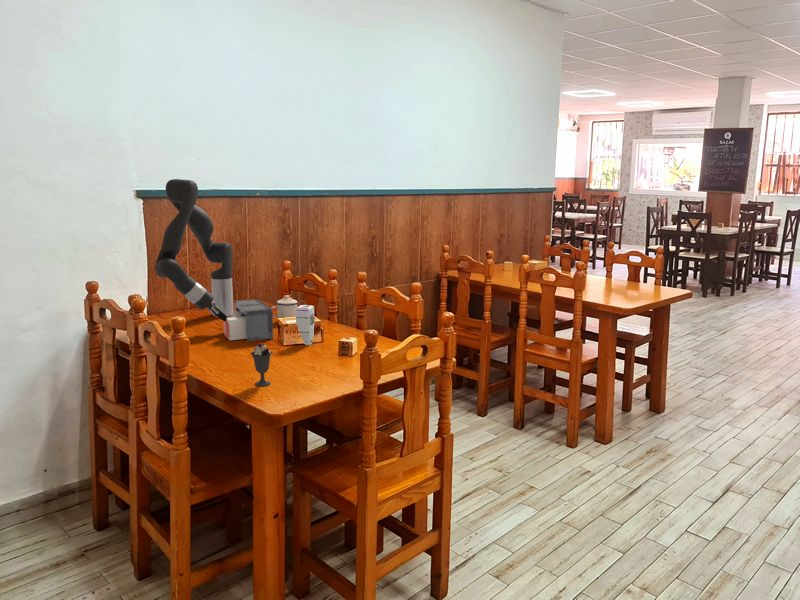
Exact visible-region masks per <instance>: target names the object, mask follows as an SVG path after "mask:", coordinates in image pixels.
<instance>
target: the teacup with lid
mask: <svg viewBox="0 0 800 600" xmlns="http://www.w3.org/2000/svg"><path fill="white" fill-rule="evenodd" d="M298 303H299V302H298V301H297V300H296V299H294V298H292V297H290V295H284V297H282V299H279V300H277V301H276V305H274V306H272V307H270V308H271V309H272V310H273V309H276V310H277V315H276V314H273V318H277V319H278V318H285V317H295V316H296V313H295V308H297V307H298Z"/></svg>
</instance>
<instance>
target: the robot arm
mask: <svg viewBox="0 0 800 600" xmlns="http://www.w3.org/2000/svg"><path fill="white" fill-rule="evenodd" d="M165 193H166V196H167V199H168V200H169V202H170V203H171V204H172V205H173V206H174V208H175V209H176V210H177V211H178V213H177V214H176V216H175V217H174V218H173V219H172V220H171V221H170V223H169V224H168V225H167V227H166V228H165V230H164V233H163V238H162V243H161V247H160V251H159V253H158V255H157V258H156V260H155V264H154V273H155V274H156V275H157V276H158V277H160V278H163V279H164V278H165V279H169V281H170V282H172V283H173V286H174V288H175V289H177V291H179V292H180V293H181V294H182V295H183V296H184V297H185V298H186V299H187V300H188V301H189V302H190V303H192V304H193V305H194V306H195V307H196V308H197V309H199V311H203V310H205V309H206V308H207V311H208V312H209V313H210V314H212V316H213V317H216V318H219V319H220V320H221V321H227V319H226V318H229V317H231V315H234V296H233V295H234V294H233V293H234V292H233V291H234V290H233V288H234V287H233V270H234V269H233V268H234V267H233V263H234V262H233V259H234V258H233V253H234V252H233V247H232V245H231V244H230V243H229V242H216V241H213V240H212V235H213V233H214V227H215V226H214V222H213V221H212V219H211V217H210V215H208V213H207V212H206V211H205V210H204V209H203V208H201V207H199V206H198V205H196V202H197V200H198V195H199V188H198V184H197V183H196V182H195V181H194V180H191V179H179V178H175V179H173V178H172V179H170V180H168V181H167V182H166V184H165ZM187 226H188V228H189V230H191V232H192V233H193V235H194V236H195V238H196V240H197V242H198V243H199V244H200V246H201V249H202V251H203V254H204V256H205V257H206V259H207V260H208V262H210V263H214V264H221V267H220V268H218V269H216V270H212V271H211V273H210V281H211V282H210V283H211V284H210V285H211V292H209V290H207V289H206V288H205V287H204V286H203V285H201V284H200V283H198V282H197V281H196V280H195V279H194V278H193V277H191V276H190V275H189V274H188V273H187V272H186V271H185V269H184V267H182V266H181V264H179V263H178V262H177V261H176V259H177V256H178V255H179V253H180V251H181V249H182V243H183V240H184V239H183V238H184V235H185V232H186V229H187V228H186V227H187Z"/></svg>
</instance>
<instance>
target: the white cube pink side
mask: <svg viewBox="0 0 800 600" xmlns="http://www.w3.org/2000/svg"><path fill="white" fill-rule="evenodd" d="M226 319H227V321H223V320H222V321H223V335H224V336H225V337H226V338H227V339H228V340H229V341H237V340H247V332H246V316H242V317H231V316H229V317H228V318H226Z"/></svg>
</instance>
